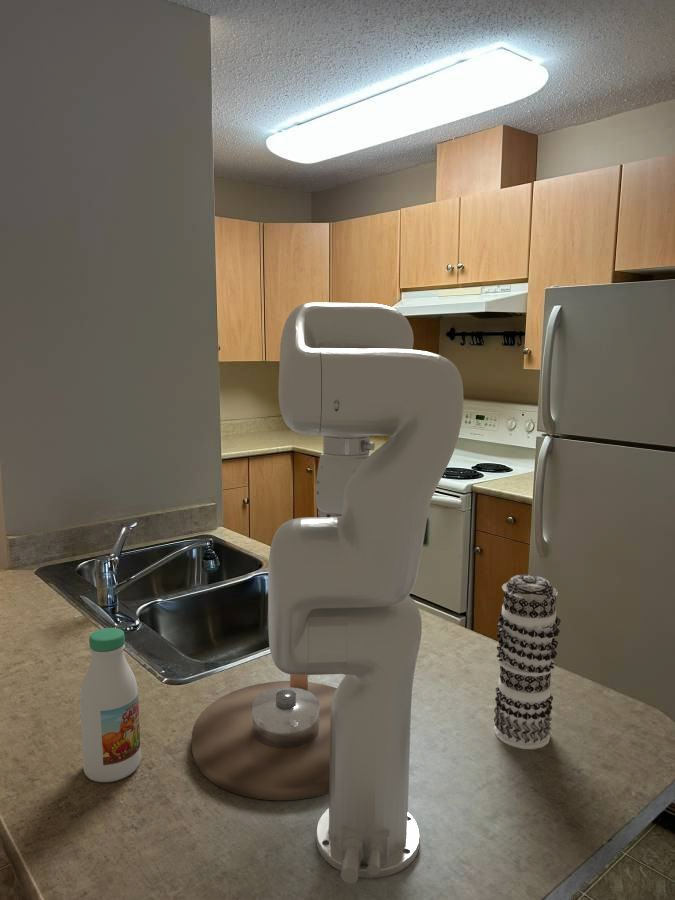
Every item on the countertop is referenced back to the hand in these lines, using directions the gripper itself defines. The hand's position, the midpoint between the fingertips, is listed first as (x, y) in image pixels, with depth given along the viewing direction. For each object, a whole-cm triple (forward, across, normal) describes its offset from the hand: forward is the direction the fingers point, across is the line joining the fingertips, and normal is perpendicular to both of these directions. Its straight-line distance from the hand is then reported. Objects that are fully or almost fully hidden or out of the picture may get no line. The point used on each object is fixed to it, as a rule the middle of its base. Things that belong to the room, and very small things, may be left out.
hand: (344, 555), depth 112 cm
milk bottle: (+25, +14, +36) cm, 46 cm away
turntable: (+25, -1, +16) cm, 30 cm away
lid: (+23, -2, +17) cm, 28 cm away
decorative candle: (+25, -29, -8) cm, 39 cm away
